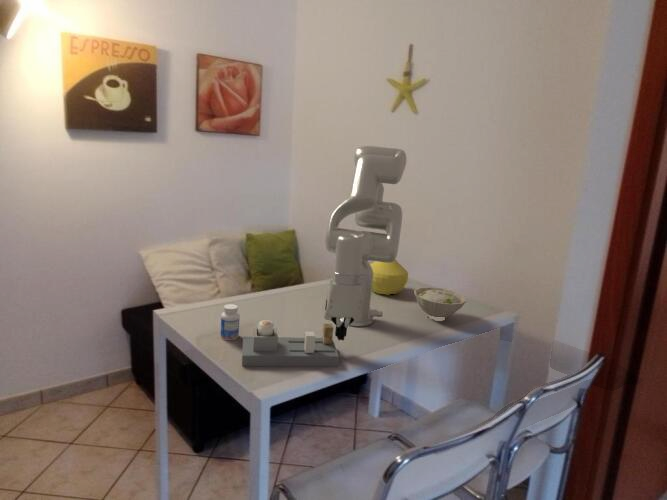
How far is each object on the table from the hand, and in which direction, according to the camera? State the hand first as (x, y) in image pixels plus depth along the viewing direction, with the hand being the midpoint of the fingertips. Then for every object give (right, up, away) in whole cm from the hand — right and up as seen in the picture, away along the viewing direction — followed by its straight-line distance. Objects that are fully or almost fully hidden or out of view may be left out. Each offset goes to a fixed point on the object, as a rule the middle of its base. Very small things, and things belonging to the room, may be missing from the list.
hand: (340, 338), depth 138 cm
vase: (+19, +8, +63) cm, 66 cm away
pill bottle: (-33, -1, +4) cm, 34 cm away
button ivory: (-21, +2, -7) cm, 22 cm away
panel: (-14, -4, -5) cm, 16 cm away
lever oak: (-4, -1, 0) cm, 4 cm away
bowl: (+36, 0, +37) cm, 52 cm away
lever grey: (-9, -2, -7) cm, 12 cm away
